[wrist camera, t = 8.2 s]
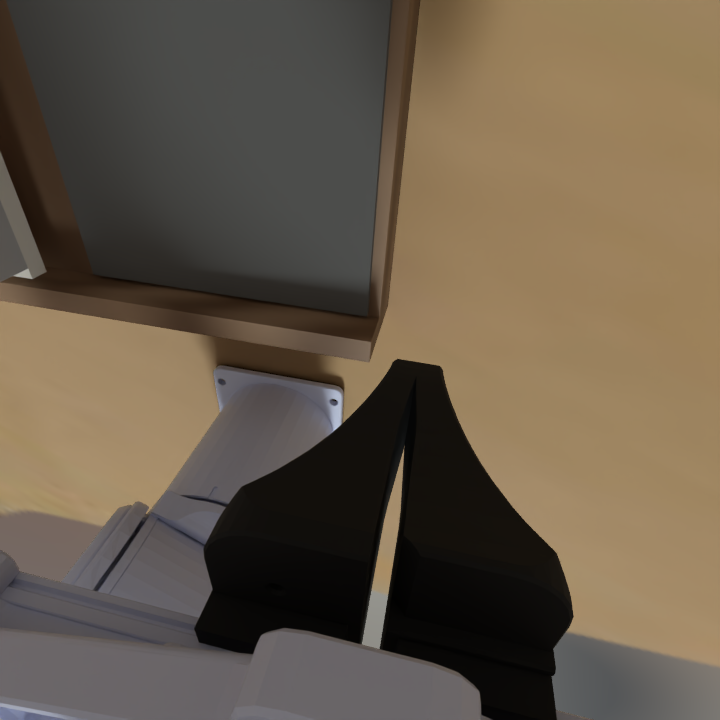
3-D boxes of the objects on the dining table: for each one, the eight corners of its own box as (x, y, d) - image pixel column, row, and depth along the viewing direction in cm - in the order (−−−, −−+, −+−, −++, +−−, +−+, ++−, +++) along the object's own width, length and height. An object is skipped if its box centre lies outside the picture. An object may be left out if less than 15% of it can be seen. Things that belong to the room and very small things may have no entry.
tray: (433, -127, 13) (417, -203, 9) (387, 305, 22) (369, 362, 18) (-286, -140, 17) (-517, -198, 13) (-83, 235, 26) (-184, 269, 22)
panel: (400, -99, 12) (398, -103, 12) (368, 312, 19) (366, 316, 19) (-19, -110, 14) (-31, -114, 13) (99, 271, 21) (93, 274, 21)
